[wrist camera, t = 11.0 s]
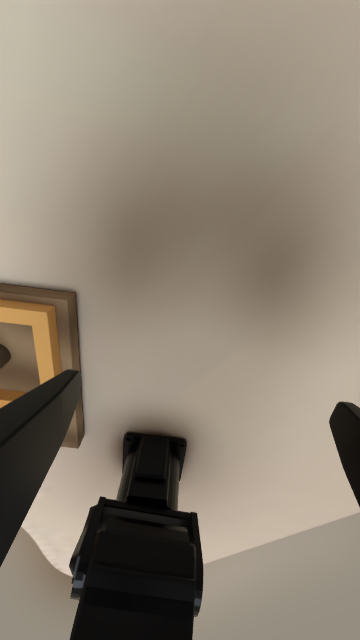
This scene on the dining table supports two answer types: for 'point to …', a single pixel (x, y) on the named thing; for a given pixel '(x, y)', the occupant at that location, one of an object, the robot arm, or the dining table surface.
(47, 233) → the dining table surface
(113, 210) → the dining table surface
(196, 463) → the dining table surface
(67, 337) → the hook plate
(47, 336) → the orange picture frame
